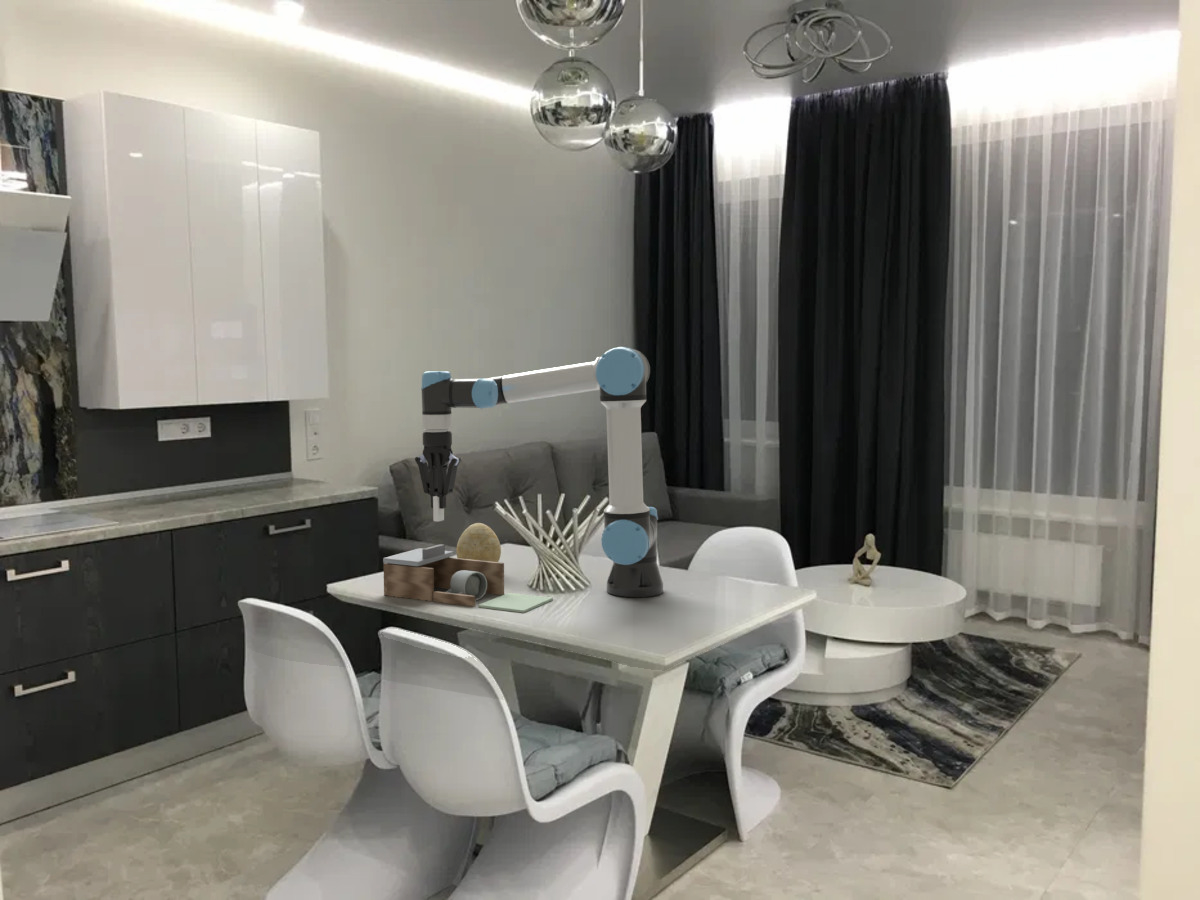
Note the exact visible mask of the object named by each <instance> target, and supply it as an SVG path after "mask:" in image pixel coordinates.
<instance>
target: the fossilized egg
mask: <svg viewBox="0 0 1200 900" xmlns="http://www.w3.org/2000/svg"><path fill="white" fill-rule="evenodd" d="M456 544H457V545H456V551H455V552H456V558H461V559H471V560H480V561H490V562H500V559H501V556H502V555H501V554H502V549H501V543H500V540H499V538H498V535H496V533H495V531H494V530H493V529H492V528H491V527H490V526H489V525H486V524H484V523H481V522H475V523H473V524H471V525H469V526H467V528H465V530H464V531H463V532H462V534H461V535H460V537H459V539H458V541H457V543H456Z"/></svg>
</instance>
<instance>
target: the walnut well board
mask: <svg viewBox="0 0 1200 900" xmlns="http://www.w3.org/2000/svg"><path fill="white" fill-rule="evenodd" d="M462 570H467V571H476V572H480V573H482V574H483V575H484V576H485V578H486V580H487V590H486V592H485V594H490V595H496V596H497V595H499V596H502V595H504V594H505V563H504V562H500V561H498V562H490V561H480V560H471V559H461V558H457V557H452V556H451V557H448V558H444V559H441V560H438V561H435V562H431V563H428V564H425V565H421V566H410V565H401V564H391V563H383V596H385V595H387V597H393V596H395V597H394V598H401V597H404V598H403V599H409V598H411V599H410V600H417V599H420V600H419V601H425V600H428V601H427V602H433V601H435V602H434V603H441V602H442V604H451V605H457V606H458V605H459V606H466V607H476V601H475V596H472V595H464V594H455V593H447V592H446V591H438V590H435V588H439V589H448V590H449V589H450V580H451V577H452V576H453V575H454V574H455V573H456V572H458V571H462Z"/></svg>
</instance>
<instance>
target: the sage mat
mask: <svg viewBox="0 0 1200 900" xmlns="http://www.w3.org/2000/svg"><path fill="white" fill-rule="evenodd" d="M553 600H554V599H553V597H549V596H548V597H547V596H541V595H534V594H533V595H532V594H523V593H516V592H515V593H514V592H506V593H504V595H499V596H497V597H495V598H493V599H489V600H487V601H485V602H483V603H479V604H478V605H477V606H478V608H483V609H490V610H491V609H492V610H499V611H505V612H506V611H507V612H515V613H521V614H522V613H523V614H524V613H526V612H529V611H531V610H534V609H535V608H538V607H540V606H542V605H545V604H547V603H549V602H552V601H553Z"/></svg>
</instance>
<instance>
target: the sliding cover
mask: <svg viewBox="0 0 1200 900" xmlns="http://www.w3.org/2000/svg"><path fill="white" fill-rule="evenodd" d="M453 556H454V551H452V550H446V545H445V544H442V543H440V544H436V545H432V546H429V547H425V548H421V547H419V548H415V549H412V550H408V551H405V552H404V551H403V552H400V553H396V554H394V555H390V556H387V557H383V558H382V559H383V560H382V562H383V564H384V563H391V564H401V565H410V566H421V565H425V564H428V563H431V562H435V561H438V560H441V559H444V558H448V557H451V558H452V557H453Z"/></svg>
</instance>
